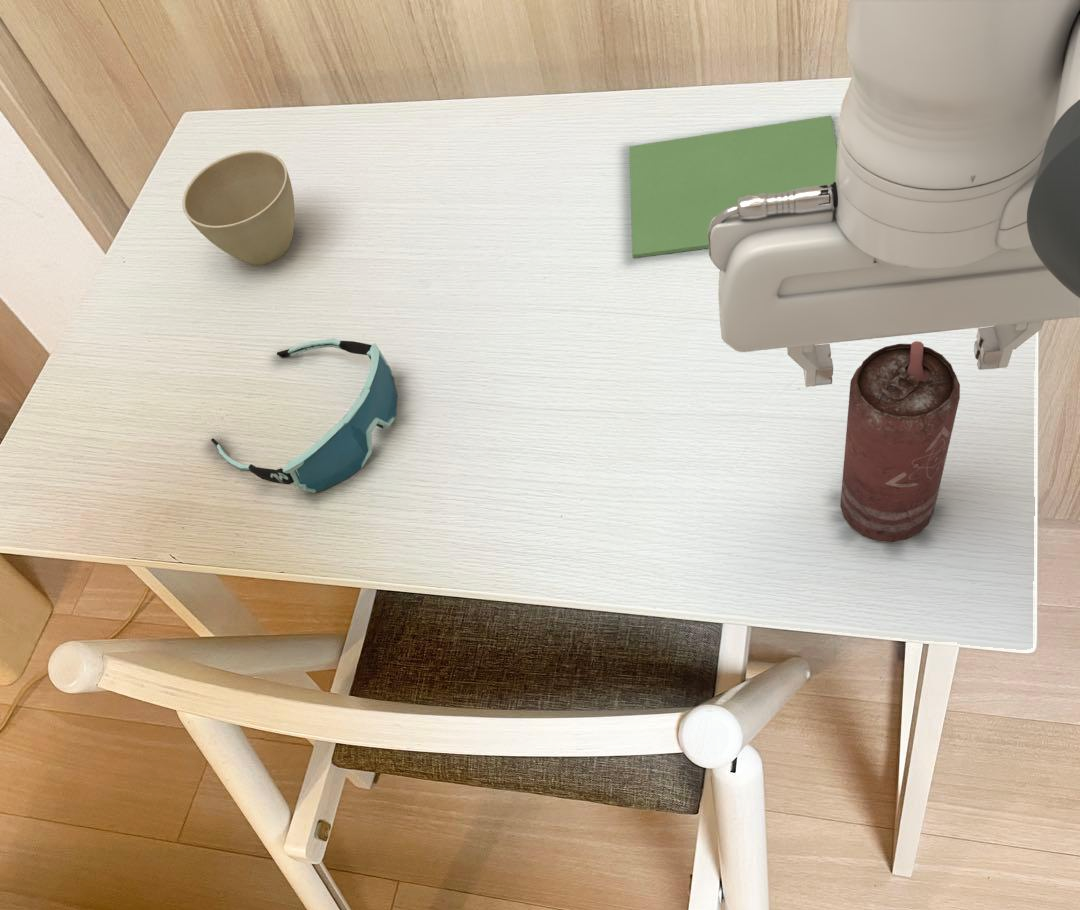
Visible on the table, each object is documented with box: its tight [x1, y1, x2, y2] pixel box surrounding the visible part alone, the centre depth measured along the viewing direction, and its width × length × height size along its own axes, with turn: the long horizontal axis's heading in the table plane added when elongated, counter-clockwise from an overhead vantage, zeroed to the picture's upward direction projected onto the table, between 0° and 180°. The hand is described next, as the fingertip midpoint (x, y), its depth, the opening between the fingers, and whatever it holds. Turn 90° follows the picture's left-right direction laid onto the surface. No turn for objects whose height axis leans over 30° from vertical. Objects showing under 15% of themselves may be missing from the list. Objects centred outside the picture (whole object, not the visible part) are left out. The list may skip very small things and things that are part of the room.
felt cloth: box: [629, 115, 837, 259], centre depth 90 cm, size 18×14×1 cm
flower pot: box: [181, 149, 296, 266], centre depth 96 cm, size 10×10×7 cm
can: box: [839, 340, 961, 543], centre depth 65 cm, size 6×6×14 cm
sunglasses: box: [210, 338, 398, 494], centre depth 84 cm, size 14×15×5 cm
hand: (902, 368), depth 59 cm, fingers open, 8 cm apart
